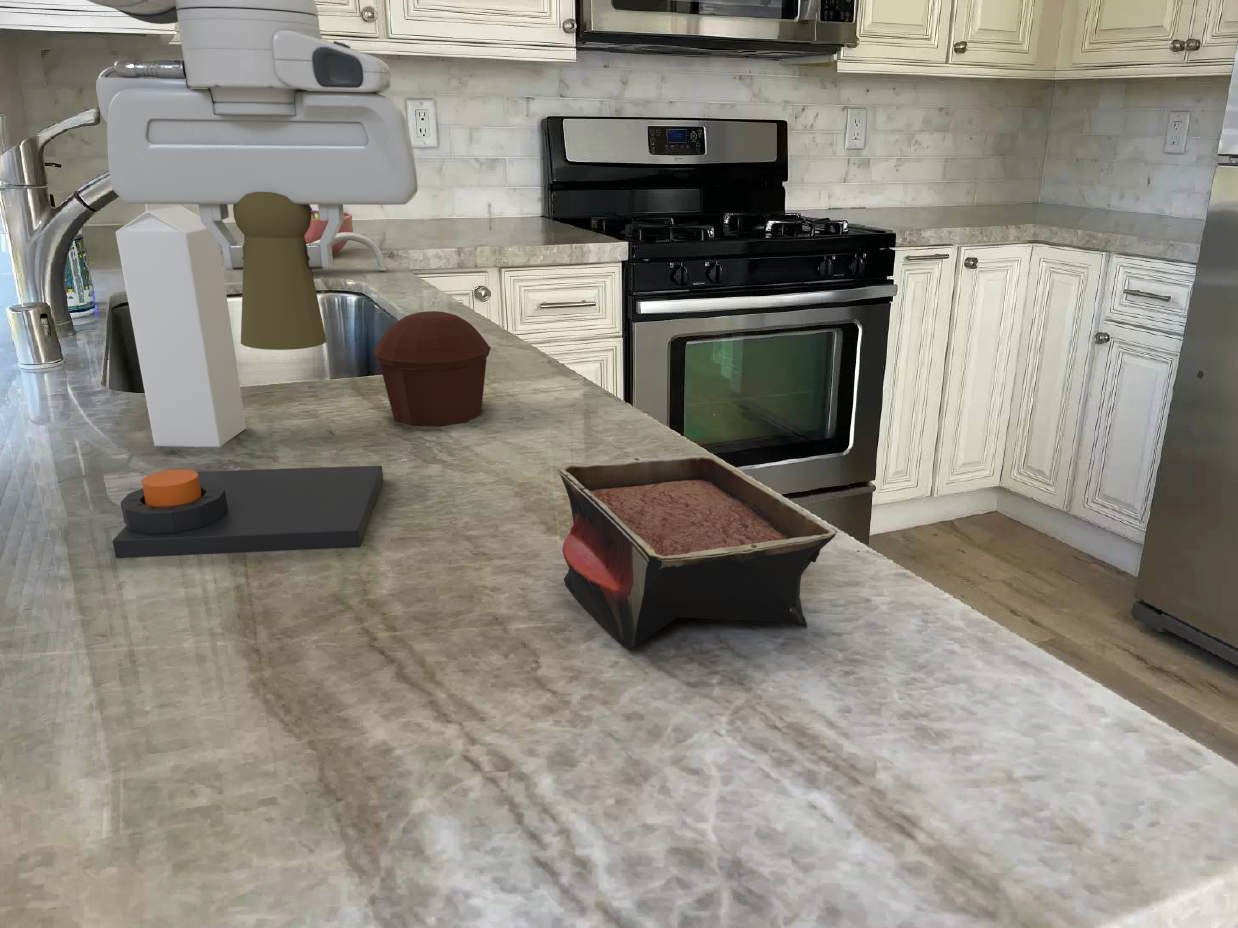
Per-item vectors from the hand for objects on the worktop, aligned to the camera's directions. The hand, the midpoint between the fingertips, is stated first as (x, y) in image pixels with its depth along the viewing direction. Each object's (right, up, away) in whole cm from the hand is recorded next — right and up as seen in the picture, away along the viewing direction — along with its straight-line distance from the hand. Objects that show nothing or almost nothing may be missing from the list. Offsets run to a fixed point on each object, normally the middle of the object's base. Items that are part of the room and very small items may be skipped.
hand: (281, 269), depth 74 cm
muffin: (+5, -8, +29) cm, 30 cm away
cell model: (-48, +35, +138) cm, 150 cm away
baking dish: (+29, -23, -10) cm, 39 cm away
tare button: (-7, -17, -2) cm, 18 cm away
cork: (0, -5, +2) cm, 5 cm away
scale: (-2, -18, +2) cm, 18 cm away
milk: (-15, -11, +20) cm, 28 cm away
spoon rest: (-38, +26, +115) cm, 124 cm away
